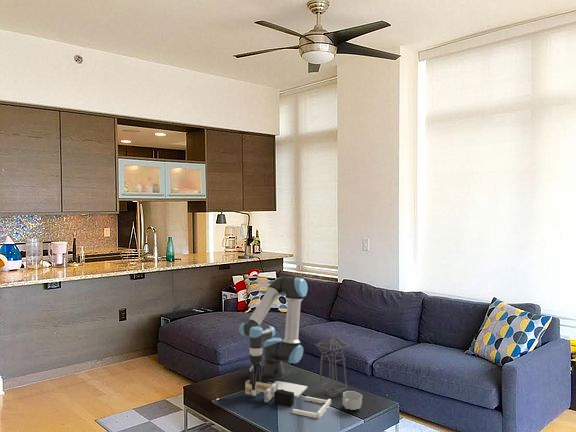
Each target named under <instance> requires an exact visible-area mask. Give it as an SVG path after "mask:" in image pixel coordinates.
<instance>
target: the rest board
mask: <svg viewBox="0 0 576 432" xmlns="http://www.w3.org/2000/svg"><path fill="white" fill-rule="evenodd" d="M275 383H278V389H279V390H281V389H283V390H285V391H289V392H294V398H297V399H298V397H300V396H301V395H302V394H303V393H304V392H305V391H306V390H307V389H308V386H307V385H301V384H299V383H298V384H297V383H291V382H287V381H279V380H275V381H274V382H273V383H271V386H272V385H273V384H275Z"/></svg>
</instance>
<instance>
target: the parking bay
mask: <svg viewBox="0 0 576 432" xmlns="http://www.w3.org/2000/svg"><path fill="white" fill-rule="evenodd" d="M304 399H305V401H307V402H311V401H312V403H316V402H319V403H318V404H321V403H325V404H323V405H322V406H321V407H320V409H318V410H317V412H312V411H307V410H302V409H296V408H293V409H292V414H295V415H300V416H305V417H309V418H315V419H320V418H321V417H322V416H323V415H324V414H325V413H326V411H327V410H328V409H329V407H330V406H331V405H332V399H331V398H328V399H322V398H317V397H311V396H307V395H306V396H304ZM330 404H331V405H330ZM329 405H330V406H329ZM327 408H328V409H327ZM326 409H327V410H326Z"/></svg>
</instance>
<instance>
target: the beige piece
mask: <svg viewBox="0 0 576 432" xmlns="http://www.w3.org/2000/svg"><path fill="white" fill-rule="evenodd" d="M256 384H257V391H259V393H260V392H261V393H264V396H263V397H264V398H263V399H264V401H263V402H264V403H268V402H270V400H272V399H274V392H275V391H276V390H277V389H278V383H275V384H273V383H264V382H262V381H261V382H256ZM272 384H273V385H272ZM271 385H272V386H271ZM244 387H245V388H244V389H245V390H244V391H245V393H244V394H245V395H252V385H251V384H250V380H249V379H247V380H245V386H244Z"/></svg>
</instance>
